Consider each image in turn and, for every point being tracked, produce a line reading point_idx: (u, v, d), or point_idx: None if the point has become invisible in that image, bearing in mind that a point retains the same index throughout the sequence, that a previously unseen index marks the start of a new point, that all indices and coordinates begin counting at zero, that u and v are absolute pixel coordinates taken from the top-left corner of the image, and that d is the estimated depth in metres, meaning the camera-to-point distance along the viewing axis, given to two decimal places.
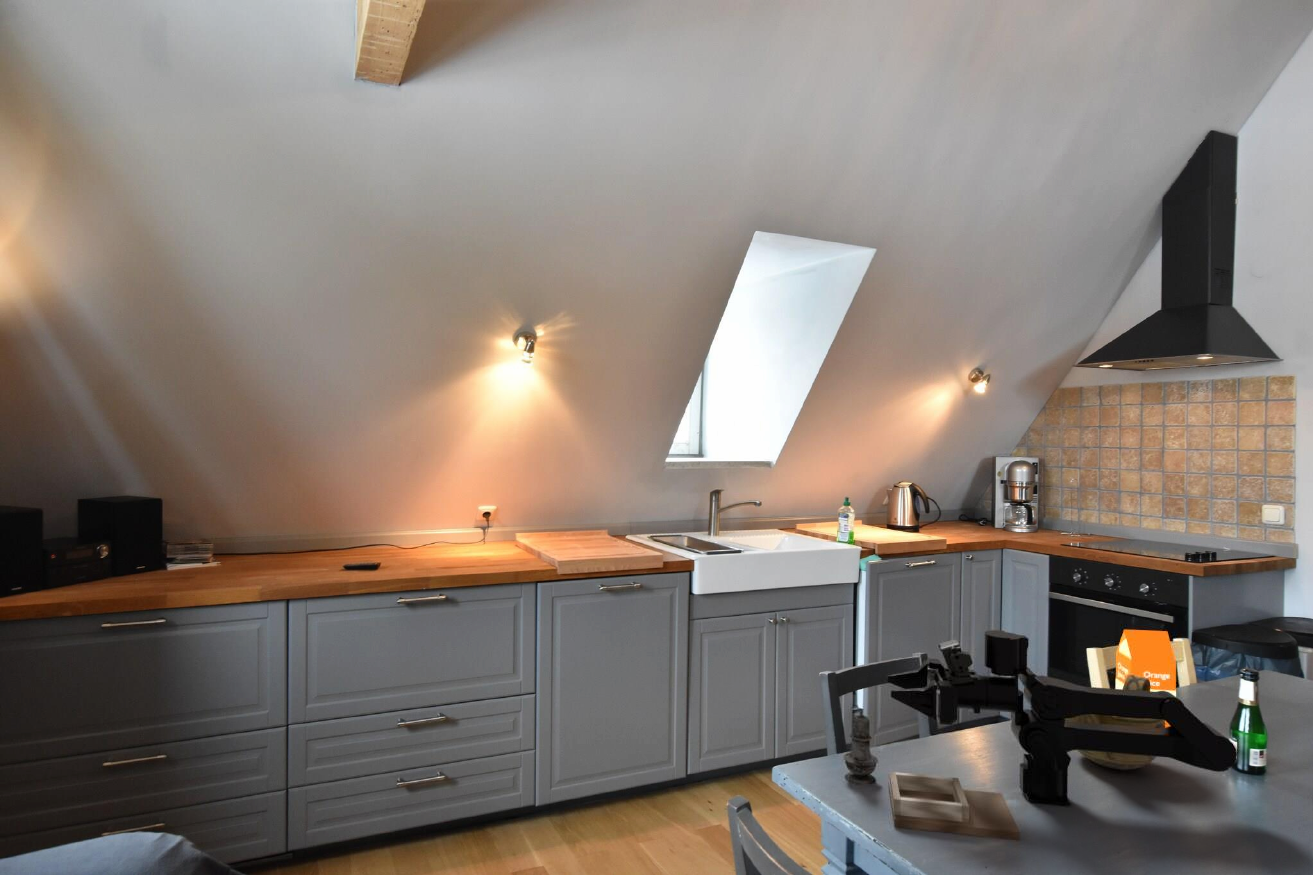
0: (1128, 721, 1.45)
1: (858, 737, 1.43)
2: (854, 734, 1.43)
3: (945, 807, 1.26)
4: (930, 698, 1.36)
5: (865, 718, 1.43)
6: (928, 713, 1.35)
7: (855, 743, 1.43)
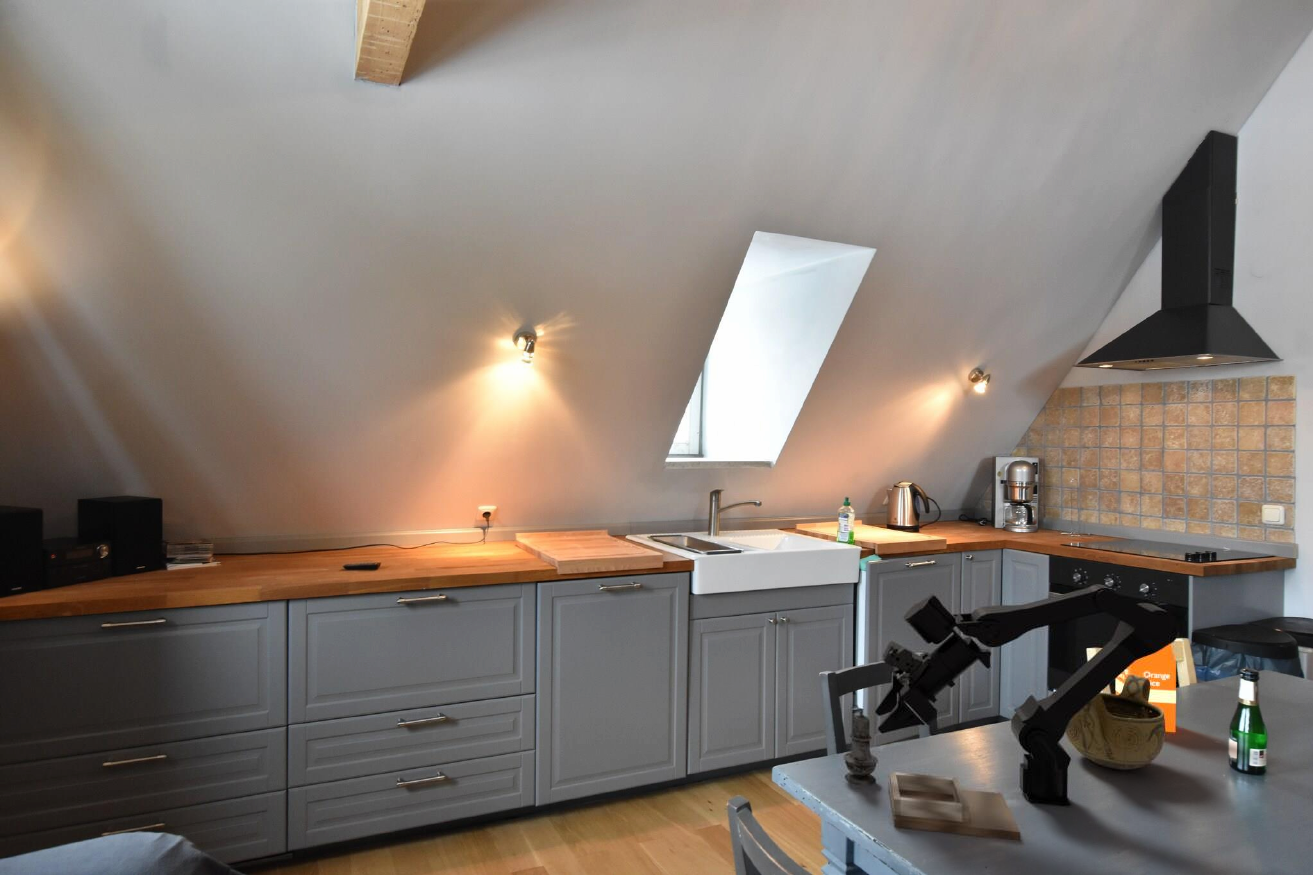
0: (1128, 721, 1.45)
1: (859, 737, 1.43)
2: (854, 734, 1.43)
3: (945, 807, 1.26)
4: None
5: (865, 718, 1.43)
6: (916, 722, 1.36)
7: (855, 743, 1.43)
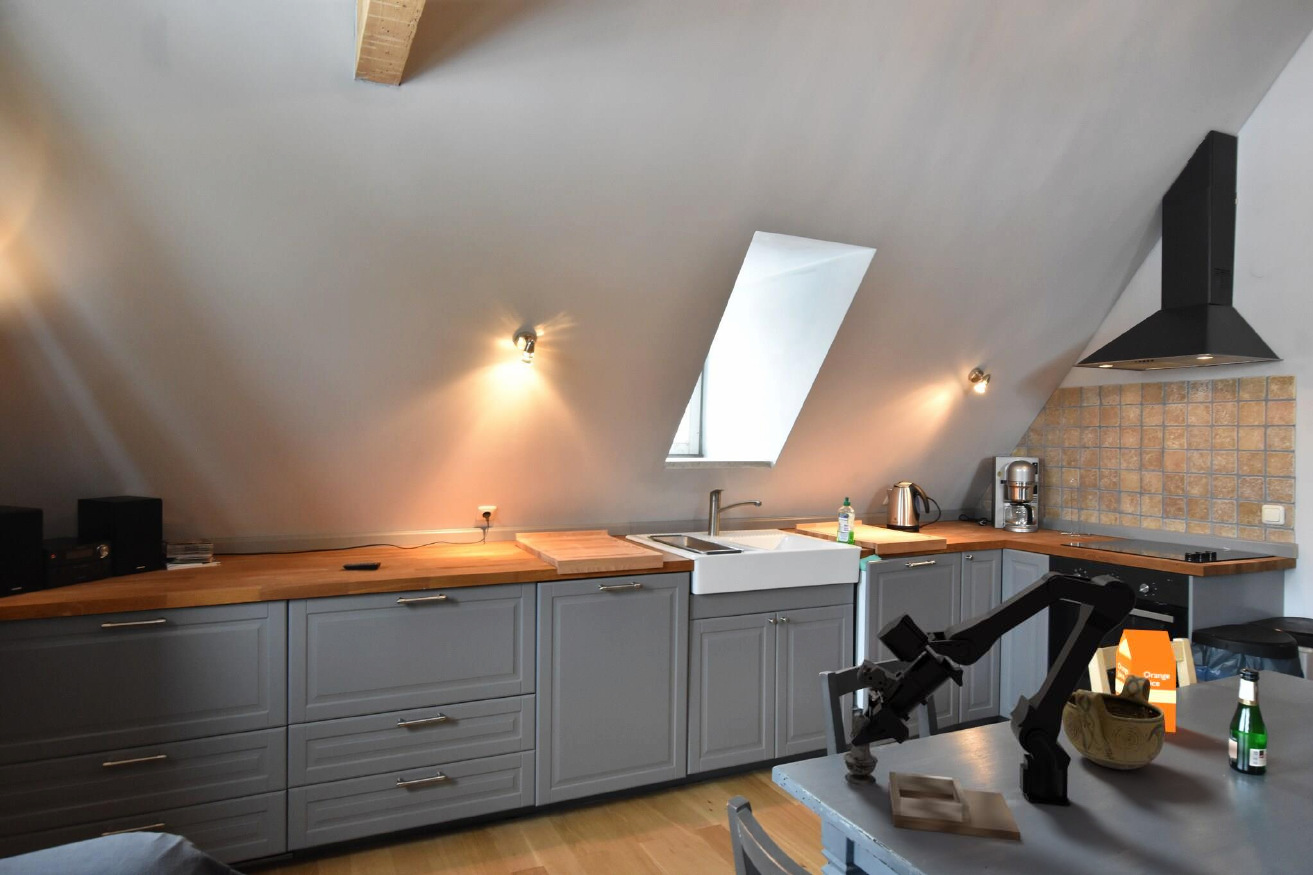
0: (1128, 721, 1.45)
1: None
2: (854, 734, 1.43)
3: (945, 807, 1.26)
4: (879, 722, 1.40)
5: (865, 718, 1.43)
6: (888, 735, 1.39)
7: None
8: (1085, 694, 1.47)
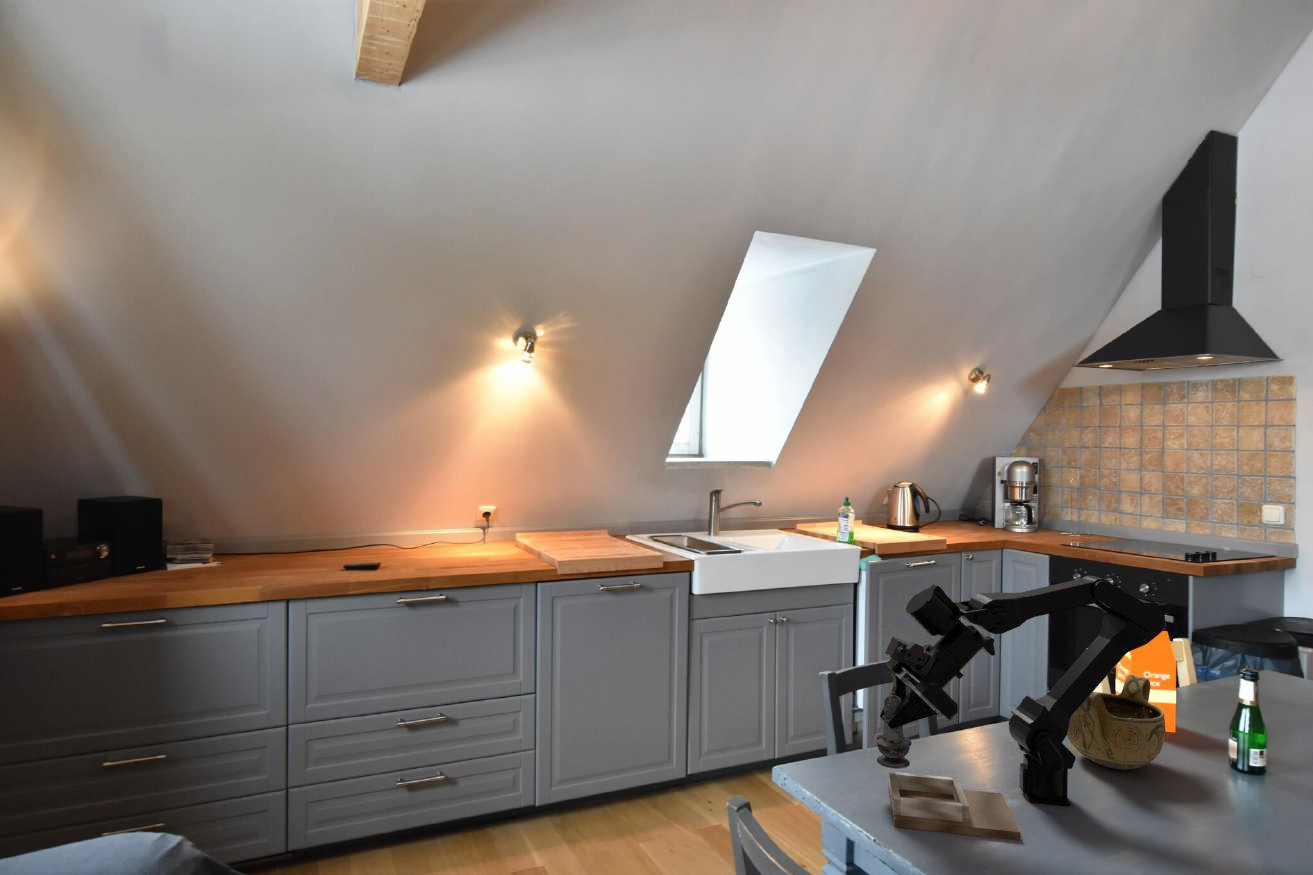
0: (1128, 721, 1.45)
1: None
2: (888, 716, 1.36)
3: (945, 807, 1.26)
4: (917, 700, 1.34)
5: (898, 698, 1.36)
6: (928, 713, 1.33)
7: None
8: None
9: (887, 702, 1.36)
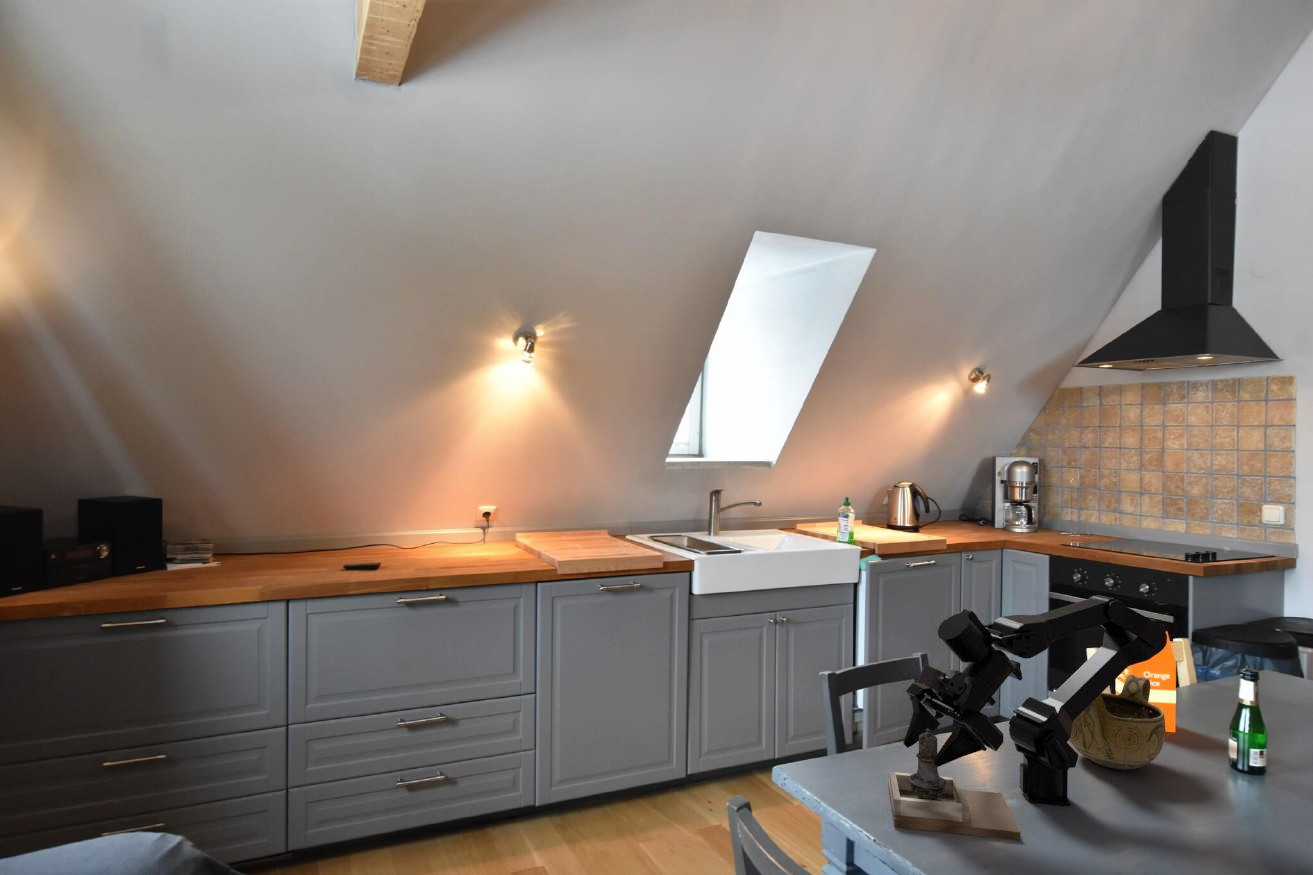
0: (1128, 721, 1.45)
1: (930, 758, 1.30)
2: (924, 755, 1.31)
3: (945, 807, 1.26)
4: (964, 735, 1.27)
5: (934, 736, 1.31)
6: (975, 748, 1.27)
7: (927, 765, 1.30)
8: None
9: (924, 740, 1.31)
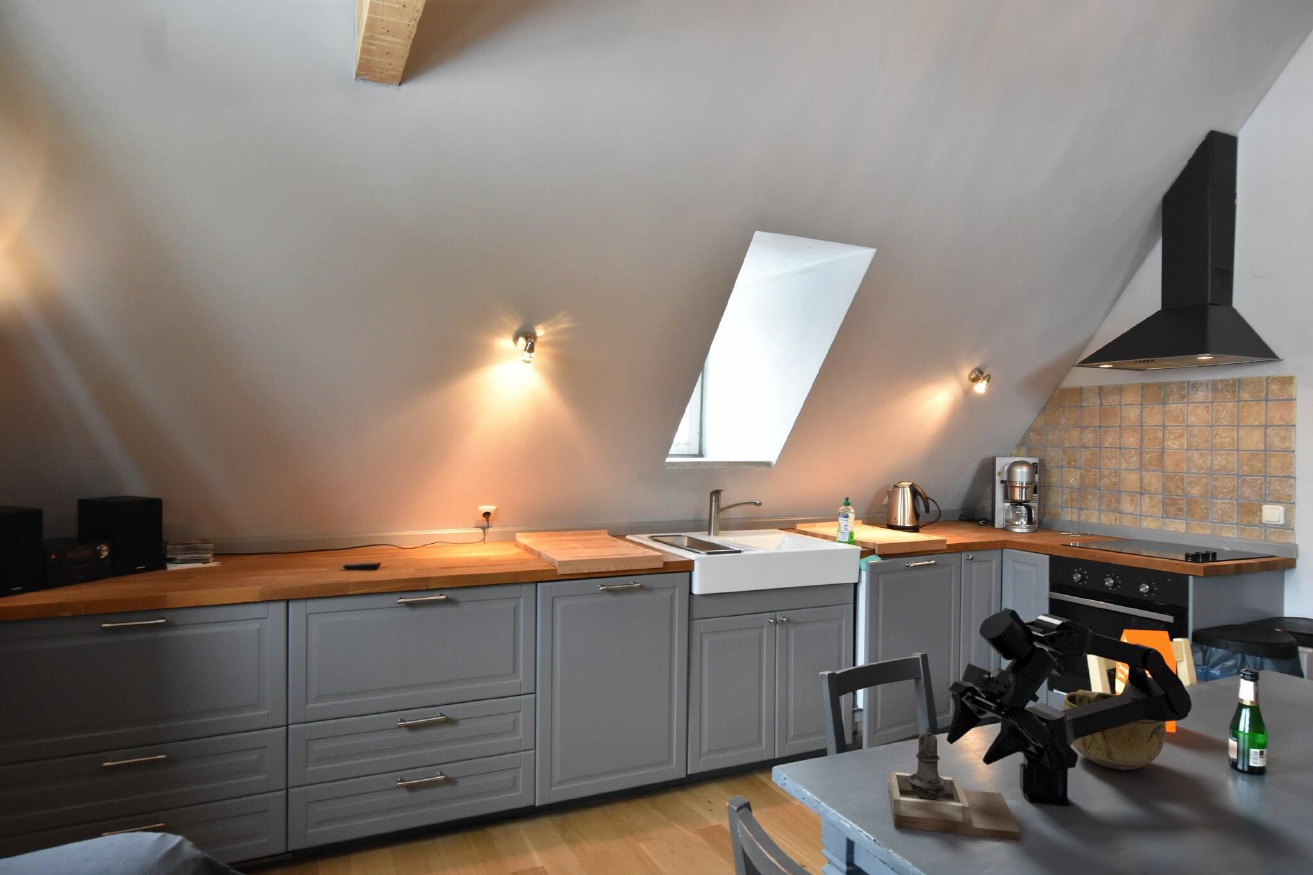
0: None
1: (930, 758, 1.30)
2: (924, 755, 1.31)
3: (945, 807, 1.26)
4: (1013, 733, 1.29)
5: (934, 736, 1.31)
6: (1023, 746, 1.29)
7: (927, 765, 1.30)
8: (1086, 694, 1.46)
9: (924, 740, 1.31)
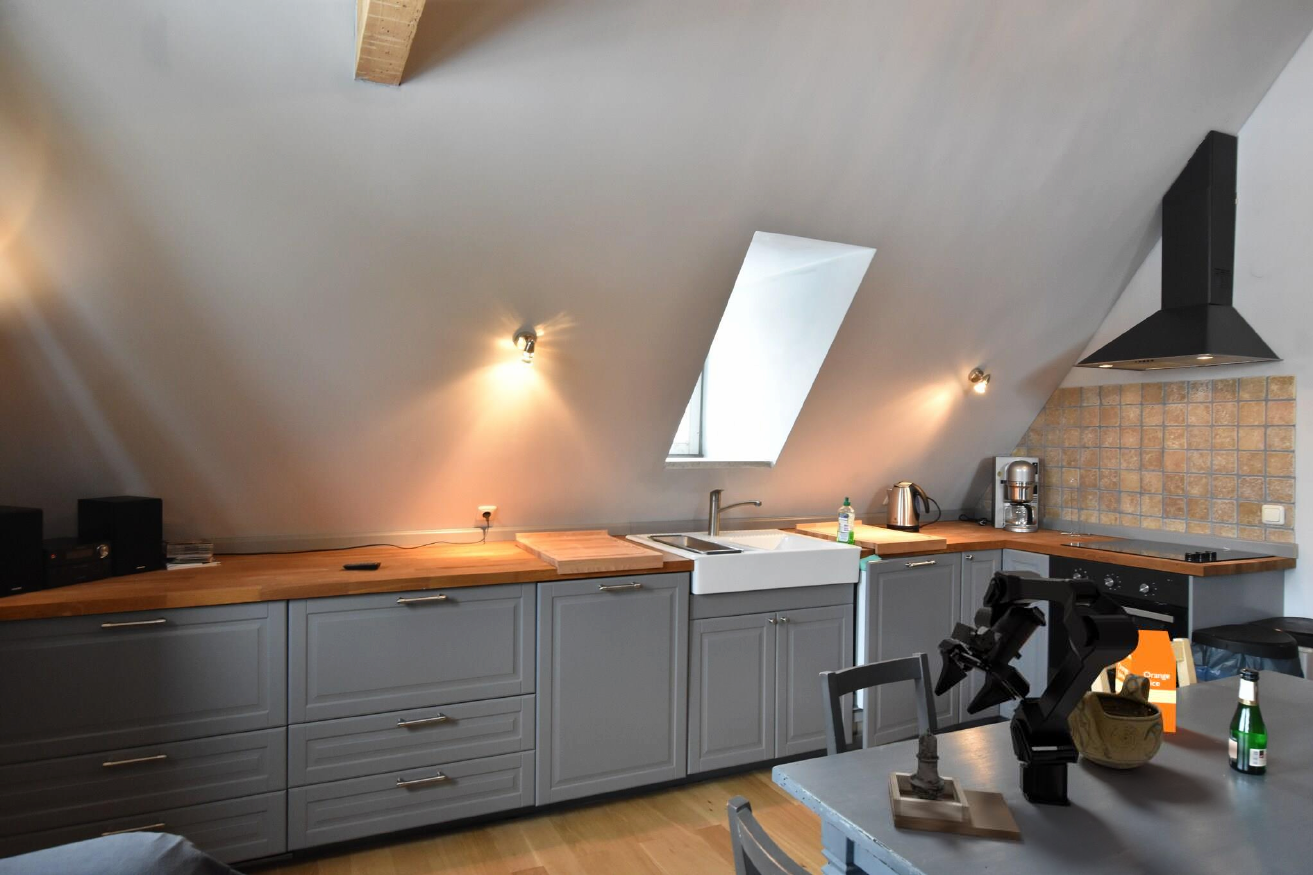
0: (1124, 720, 1.45)
1: (930, 758, 1.30)
2: (924, 755, 1.31)
3: (945, 807, 1.26)
4: (996, 687, 1.39)
5: (934, 736, 1.31)
6: (1005, 698, 1.39)
7: (926, 765, 1.30)
8: None
9: (923, 740, 1.31)
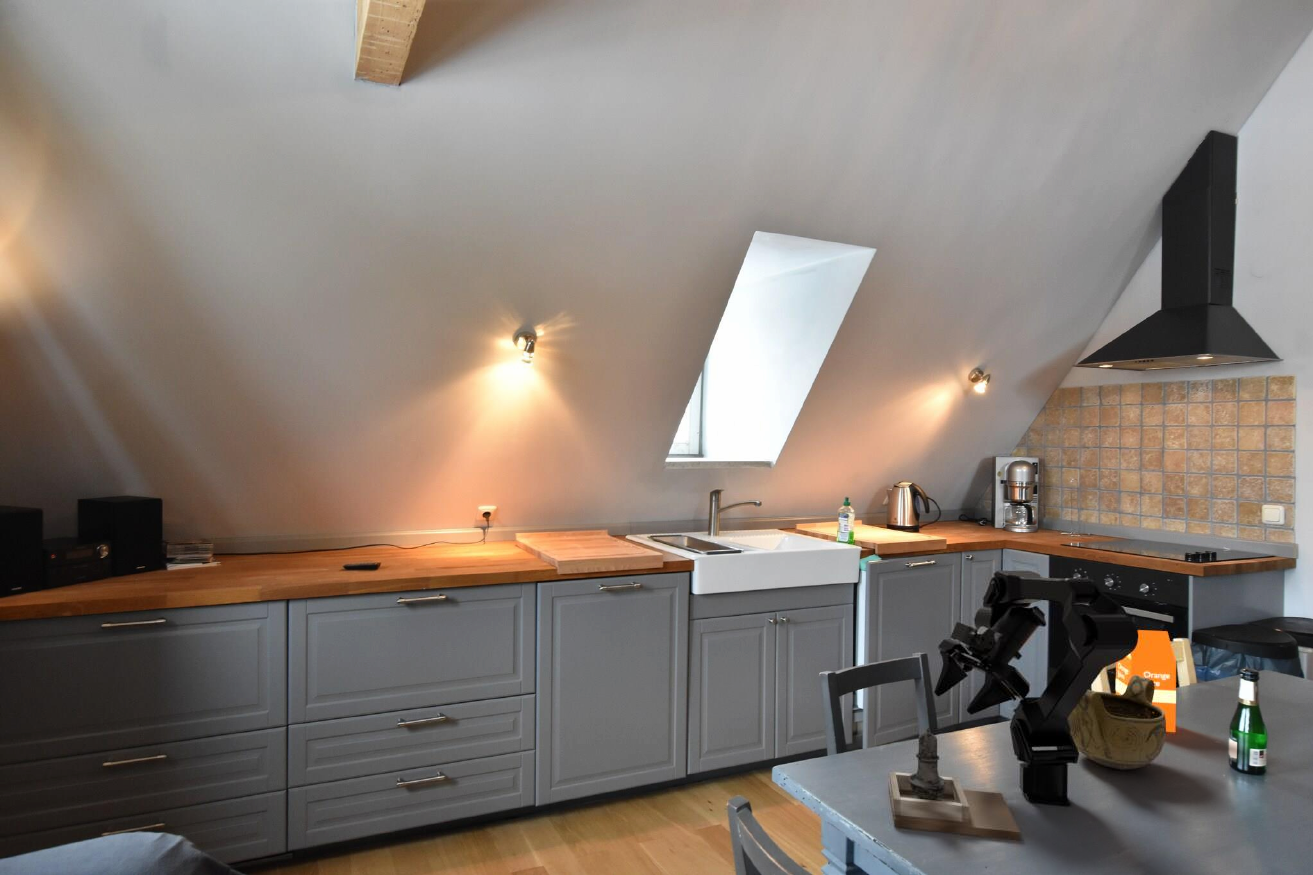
0: (1126, 720, 1.45)
1: (930, 758, 1.30)
2: (924, 755, 1.31)
3: (945, 807, 1.26)
4: (995, 686, 1.39)
5: (934, 736, 1.31)
6: (1005, 698, 1.39)
7: (926, 765, 1.30)
8: None
9: (924, 740, 1.31)
